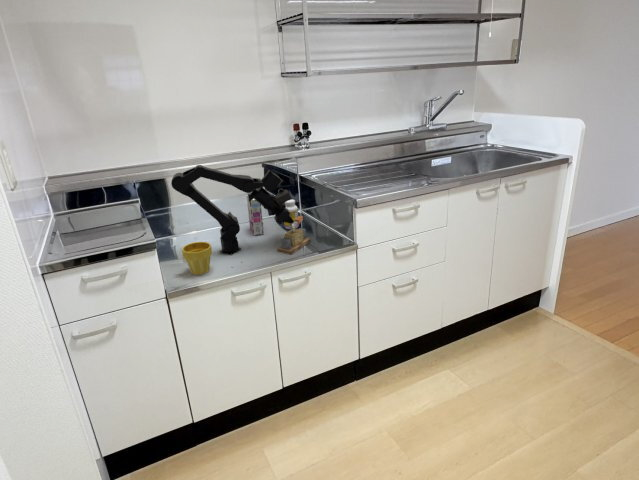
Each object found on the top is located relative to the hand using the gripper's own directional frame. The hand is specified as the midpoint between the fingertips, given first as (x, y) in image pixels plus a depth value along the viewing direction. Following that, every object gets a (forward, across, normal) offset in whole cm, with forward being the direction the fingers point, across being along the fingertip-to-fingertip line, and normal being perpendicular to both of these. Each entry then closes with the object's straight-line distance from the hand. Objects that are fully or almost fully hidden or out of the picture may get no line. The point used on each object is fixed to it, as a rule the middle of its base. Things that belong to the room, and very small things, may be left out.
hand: (293, 222), depth 172 cm
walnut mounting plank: (+5, -5, +7) cm, 10 cm away
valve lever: (+1, -2, 0) cm, 2 cm away
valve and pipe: (+4, -5, +6) cm, 9 cm away
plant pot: (-20, -15, +35) cm, 43 cm away
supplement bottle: (+8, +18, +4) cm, 20 cm away
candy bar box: (-3, +19, +16) cm, 25 cm away
